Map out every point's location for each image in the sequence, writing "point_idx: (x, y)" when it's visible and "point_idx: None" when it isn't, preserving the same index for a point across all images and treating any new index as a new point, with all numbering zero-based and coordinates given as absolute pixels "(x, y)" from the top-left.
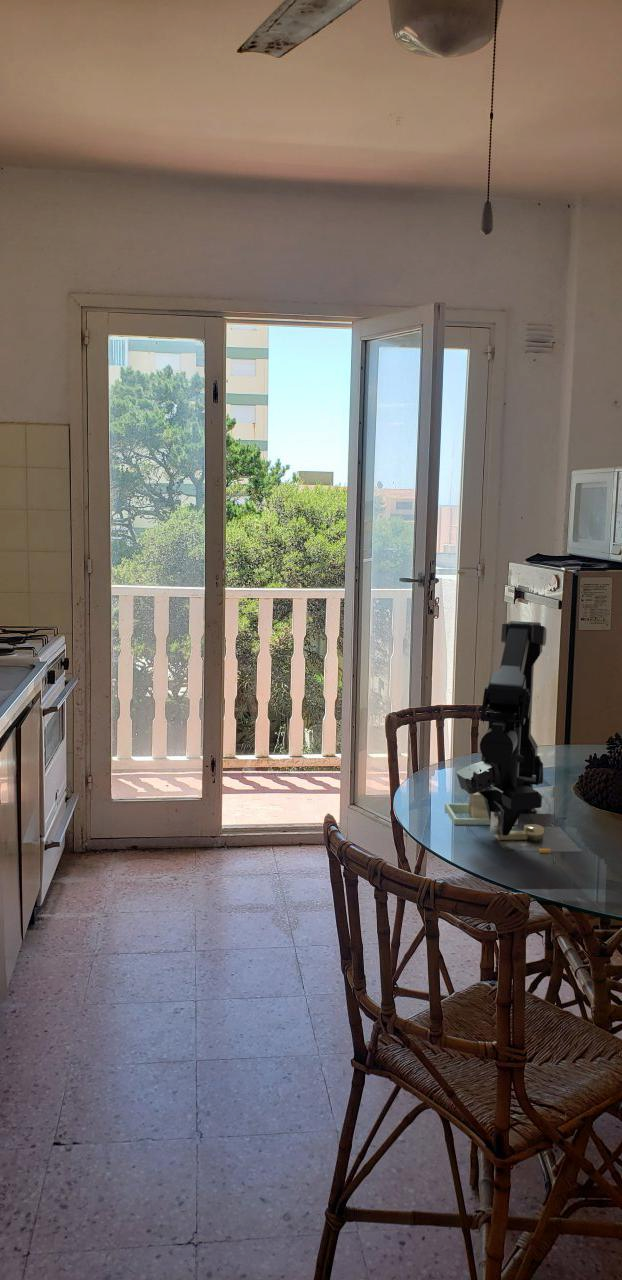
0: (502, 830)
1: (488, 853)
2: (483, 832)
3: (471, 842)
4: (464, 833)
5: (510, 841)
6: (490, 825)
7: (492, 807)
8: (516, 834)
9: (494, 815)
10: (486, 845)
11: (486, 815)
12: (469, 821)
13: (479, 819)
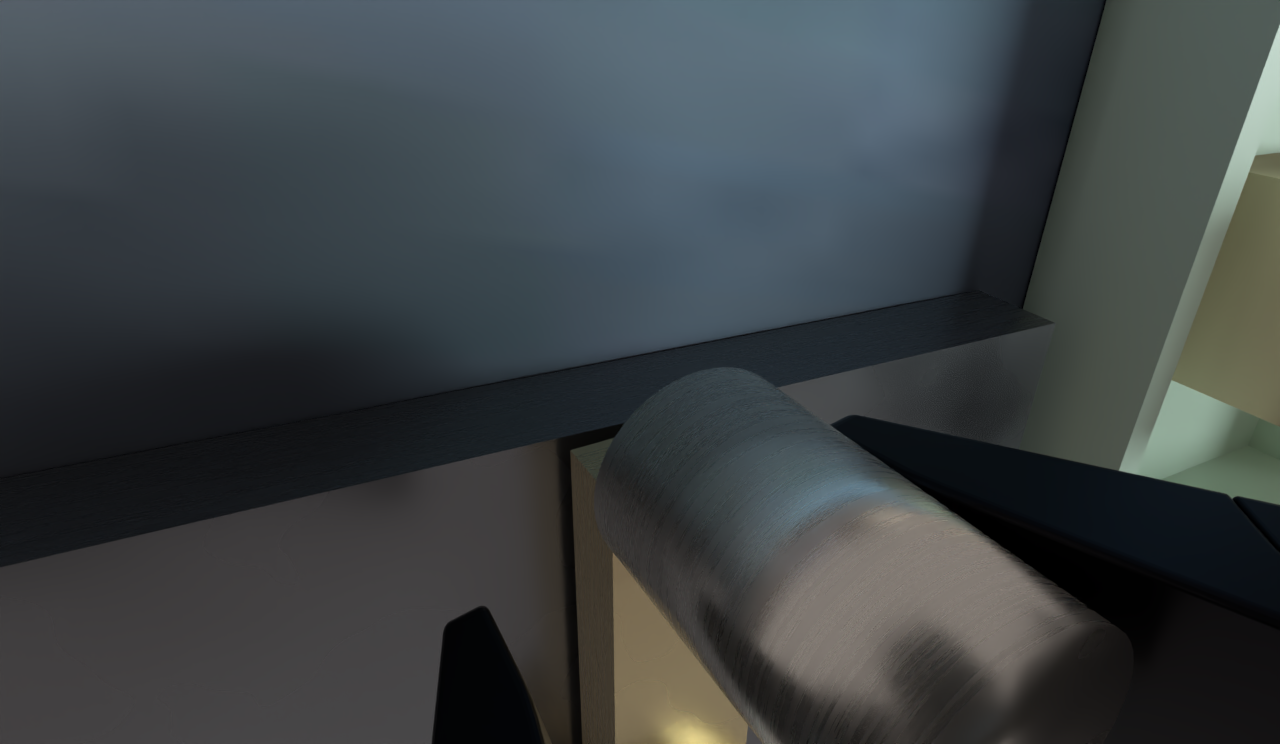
0: (467, 683)
1: (266, 228)
2: (1026, 254)
3: (775, 29)
4: (1062, 11)
5: (534, 606)
6: (801, 430)
7: (1213, 676)
8: (611, 731)
9: (885, 687)
10: (646, 239)
11: (1249, 339)
12: (1214, 107)
13: (1196, 249)
